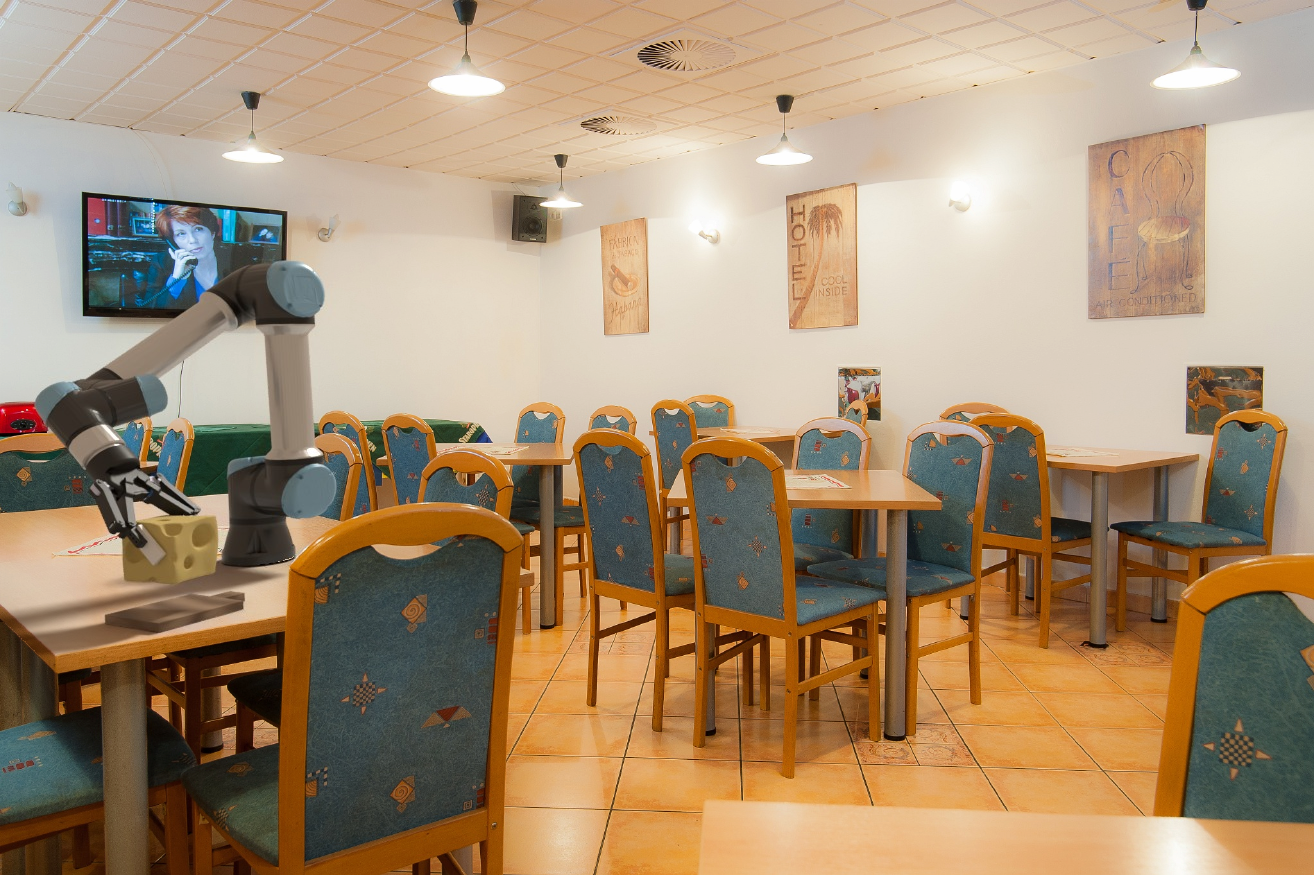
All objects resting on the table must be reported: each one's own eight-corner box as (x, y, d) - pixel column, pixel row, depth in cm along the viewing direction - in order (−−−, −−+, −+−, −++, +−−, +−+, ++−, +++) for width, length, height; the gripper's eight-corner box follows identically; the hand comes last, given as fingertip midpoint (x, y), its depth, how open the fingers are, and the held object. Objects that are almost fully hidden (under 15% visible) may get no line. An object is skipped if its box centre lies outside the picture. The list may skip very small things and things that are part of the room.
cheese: (175, 585, 144) (173, 523, 143) (118, 582, 146) (116, 521, 145) (220, 572, 154) (218, 514, 153) (166, 569, 156) (165, 512, 155)
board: (212, 596, 165) (212, 588, 164) (263, 603, 159) (263, 595, 159) (105, 623, 146) (104, 614, 146) (158, 632, 141) (158, 623, 141)
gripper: (147, 467, 164) (221, 556, 161) (32, 479, 142) (116, 582, 139) (170, 439, 162) (246, 528, 159) (58, 447, 140) (143, 550, 137)
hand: (185, 553), depth 149 cm, fingers closed on cheese, 10 cm apart
